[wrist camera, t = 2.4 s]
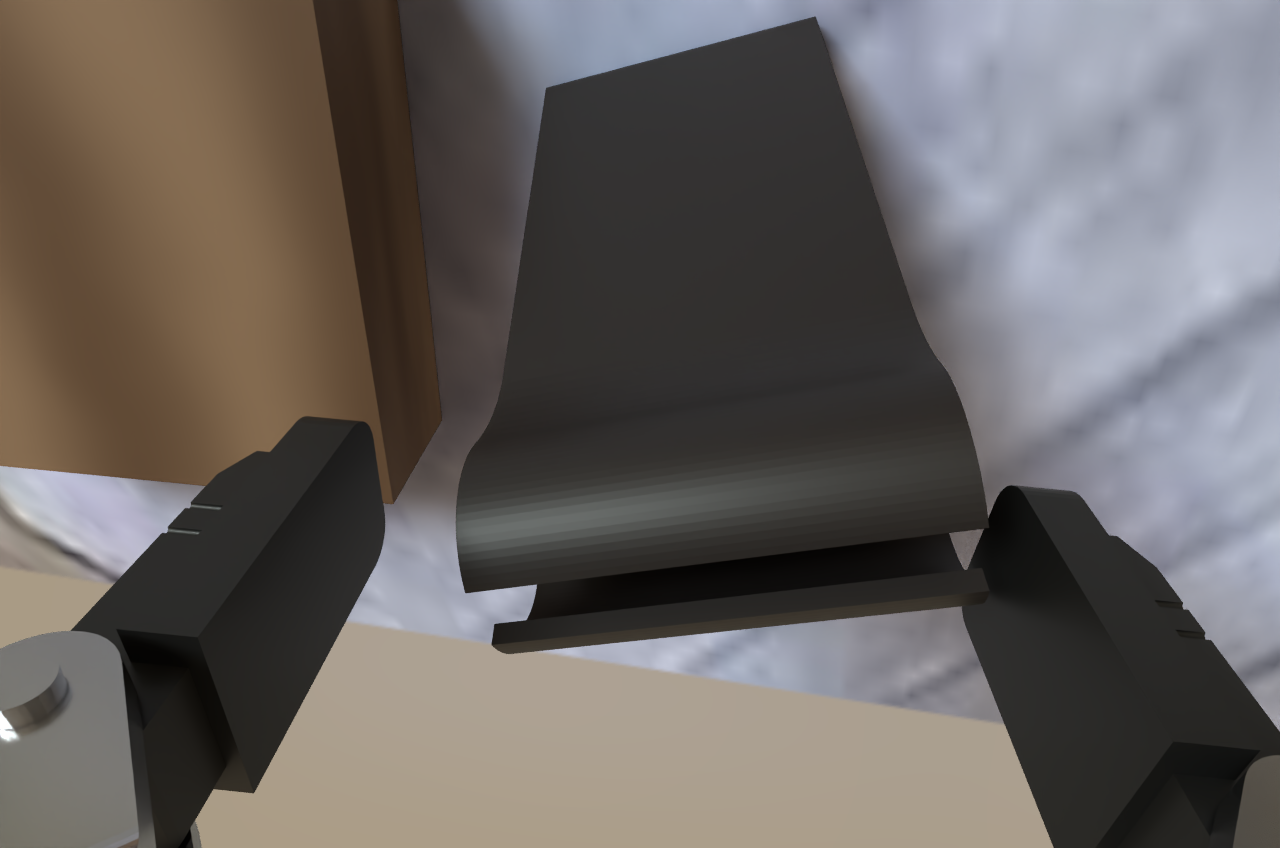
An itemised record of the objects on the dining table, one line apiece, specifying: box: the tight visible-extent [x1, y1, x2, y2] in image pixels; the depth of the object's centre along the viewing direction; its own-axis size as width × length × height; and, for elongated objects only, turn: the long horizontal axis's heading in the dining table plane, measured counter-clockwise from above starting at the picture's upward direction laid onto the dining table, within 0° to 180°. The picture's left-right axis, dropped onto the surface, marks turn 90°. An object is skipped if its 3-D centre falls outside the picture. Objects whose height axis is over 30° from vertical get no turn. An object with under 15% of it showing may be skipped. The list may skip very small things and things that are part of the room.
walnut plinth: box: [0, 0, 442, 504], centre depth 17 cm, size 13×13×4 cm
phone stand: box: [456, 17, 989, 654], centre depth 14 cm, size 9×6×12 cm, turn 13°
